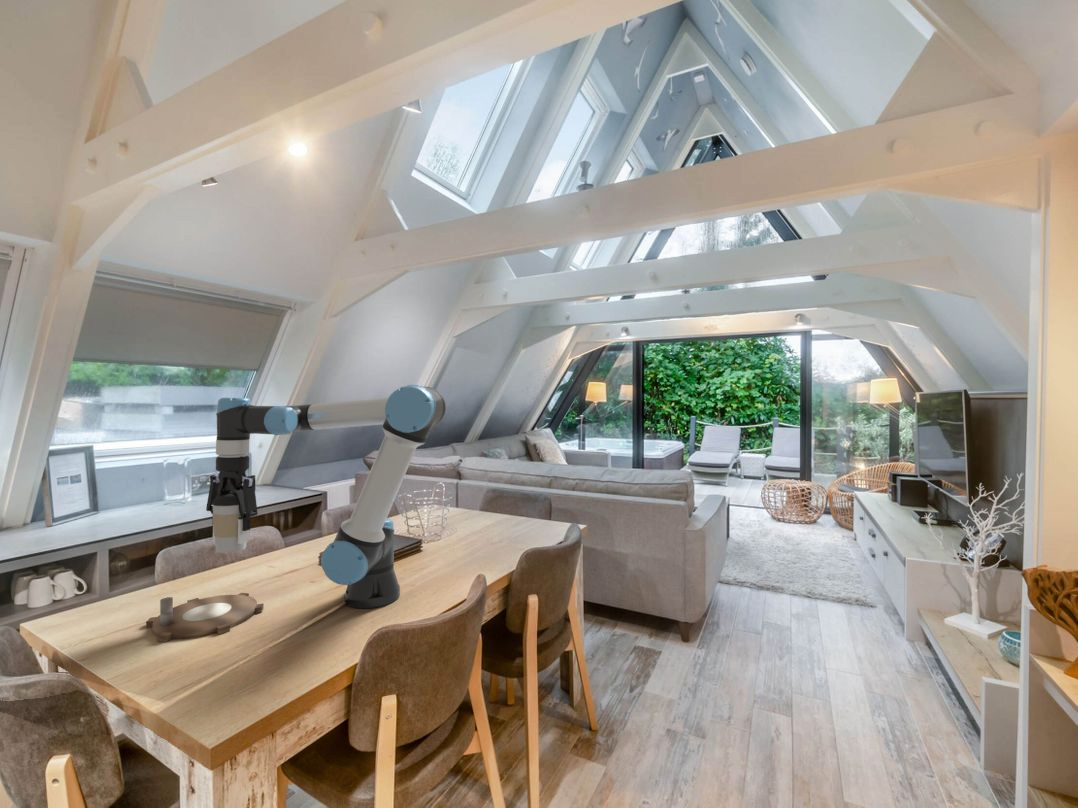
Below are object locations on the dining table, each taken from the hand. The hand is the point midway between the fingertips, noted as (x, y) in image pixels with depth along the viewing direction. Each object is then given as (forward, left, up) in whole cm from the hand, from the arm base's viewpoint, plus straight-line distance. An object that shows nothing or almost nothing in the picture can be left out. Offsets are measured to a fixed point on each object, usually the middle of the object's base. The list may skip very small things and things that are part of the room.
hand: (230, 540), depth 128 cm
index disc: (+2, +5, -19) cm, 19 cm away
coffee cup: (0, 0, -3) cm, 3 cm away
